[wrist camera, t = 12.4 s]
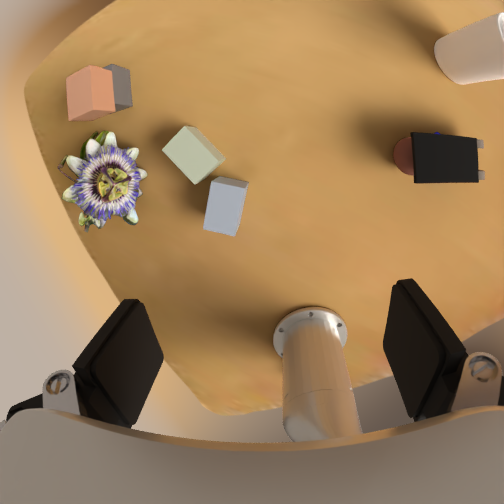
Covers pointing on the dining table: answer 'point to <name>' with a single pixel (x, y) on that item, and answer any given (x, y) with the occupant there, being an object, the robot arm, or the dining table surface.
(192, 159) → the sage brick
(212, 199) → the slate-blue brick
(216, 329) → the dining table surface
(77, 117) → the terracotta brick
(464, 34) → the cup
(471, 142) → the figurine character
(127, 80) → the charcoal brick
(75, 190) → the passion flower
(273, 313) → the dining table surface
